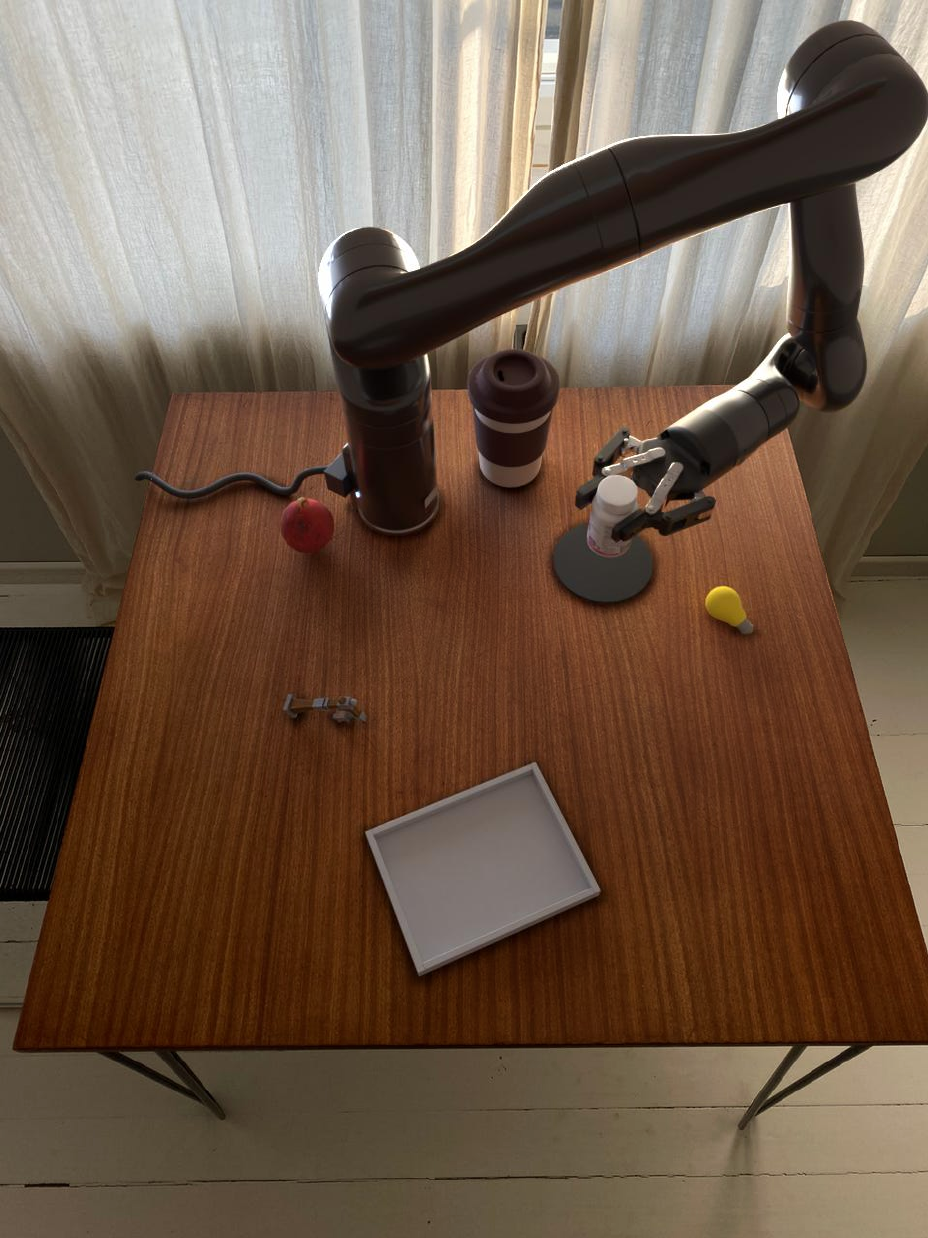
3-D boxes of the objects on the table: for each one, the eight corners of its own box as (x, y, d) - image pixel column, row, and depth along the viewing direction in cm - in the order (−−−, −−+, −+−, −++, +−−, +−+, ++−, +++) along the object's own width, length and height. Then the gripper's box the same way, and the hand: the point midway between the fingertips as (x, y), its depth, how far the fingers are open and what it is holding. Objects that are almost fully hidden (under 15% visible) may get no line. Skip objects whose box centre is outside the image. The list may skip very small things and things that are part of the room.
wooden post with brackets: (372, 728, 85) (349, 706, 82) (306, 729, 89) (281, 708, 86) (377, 712, 86) (354, 689, 83) (311, 714, 90) (287, 692, 87)
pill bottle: (582, 525, 95) (590, 473, 88) (626, 521, 95) (637, 469, 88) (589, 560, 92) (598, 510, 85) (634, 557, 92) (646, 506, 85)
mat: (535, 576, 96) (535, 574, 96) (581, 509, 101) (582, 507, 101) (625, 620, 93) (625, 618, 92) (668, 549, 98) (669, 547, 97)
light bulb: (729, 575, 91) (708, 595, 90) (769, 617, 90) (749, 638, 89) (713, 586, 94) (693, 606, 93) (753, 627, 93) (732, 647, 92)
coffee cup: (563, 450, 106) (575, 352, 93) (532, 508, 101) (540, 413, 88) (489, 426, 108) (490, 327, 96) (455, 482, 103) (452, 386, 91)
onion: (330, 570, 97) (318, 526, 90) (280, 562, 97) (265, 517, 91) (344, 530, 100) (334, 483, 93) (296, 522, 100) (282, 476, 94)
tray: (419, 976, 74) (418, 973, 73) (366, 837, 81) (364, 831, 79) (598, 895, 77) (601, 890, 76) (534, 767, 84) (535, 761, 83)
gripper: (671, 376, 93) (550, 452, 88) (775, 453, 87) (651, 540, 81) (659, 426, 99) (546, 500, 94) (755, 502, 93) (640, 585, 88)
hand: (596, 518), depth 88 cm, fingers closed on pill bottle, 4 cm apart
